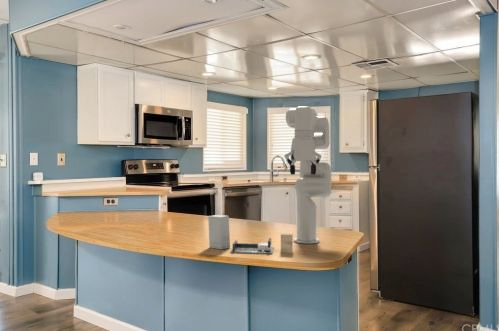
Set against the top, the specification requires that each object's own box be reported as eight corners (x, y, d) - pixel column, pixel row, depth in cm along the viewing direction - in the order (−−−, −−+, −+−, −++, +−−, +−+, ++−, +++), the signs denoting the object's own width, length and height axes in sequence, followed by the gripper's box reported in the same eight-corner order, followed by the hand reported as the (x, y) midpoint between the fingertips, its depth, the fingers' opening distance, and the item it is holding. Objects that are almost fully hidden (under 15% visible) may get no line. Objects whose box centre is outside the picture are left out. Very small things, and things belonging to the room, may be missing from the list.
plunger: (259, 247, 193) (259, 237, 193) (271, 247, 192) (271, 238, 192) (257, 251, 183) (257, 241, 183) (269, 252, 183) (269, 242, 183)
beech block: (281, 250, 191) (281, 232, 190) (292, 250, 190) (292, 232, 190) (280, 252, 186) (280, 234, 185) (292, 253, 185) (292, 234, 185)
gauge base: (234, 247, 197) (234, 239, 197) (273, 248, 194) (273, 240, 194) (230, 253, 185) (230, 244, 185) (272, 254, 183) (272, 246, 182)
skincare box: (230, 248, 195) (230, 215, 195) (221, 250, 190) (221, 216, 190) (217, 245, 200) (217, 214, 200) (207, 247, 196) (207, 215, 196)
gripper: (317, 136, 192) (317, 174, 192) (281, 135, 187) (281, 174, 187) (325, 135, 185) (324, 174, 185) (288, 134, 180) (288, 174, 180)
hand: (303, 174), depth 186 cm, fingers open, 9 cm apart
